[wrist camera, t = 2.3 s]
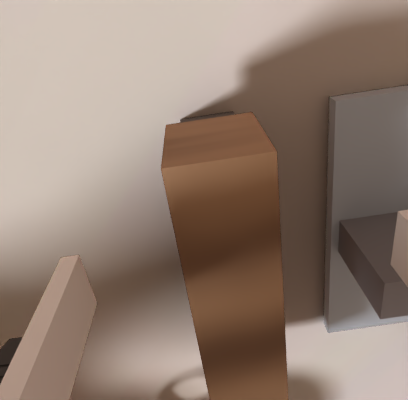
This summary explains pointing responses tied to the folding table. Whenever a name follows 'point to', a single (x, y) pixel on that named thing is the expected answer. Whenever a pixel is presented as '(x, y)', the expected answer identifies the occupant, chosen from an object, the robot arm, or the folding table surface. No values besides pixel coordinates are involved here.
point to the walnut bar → (230, 251)
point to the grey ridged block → (365, 208)
